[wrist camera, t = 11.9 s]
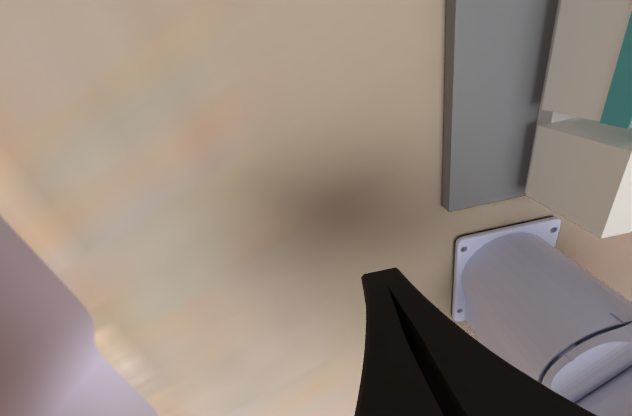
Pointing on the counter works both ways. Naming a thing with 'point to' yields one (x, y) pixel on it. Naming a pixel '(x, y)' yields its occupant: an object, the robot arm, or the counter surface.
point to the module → (592, 62)
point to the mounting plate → (524, 122)
